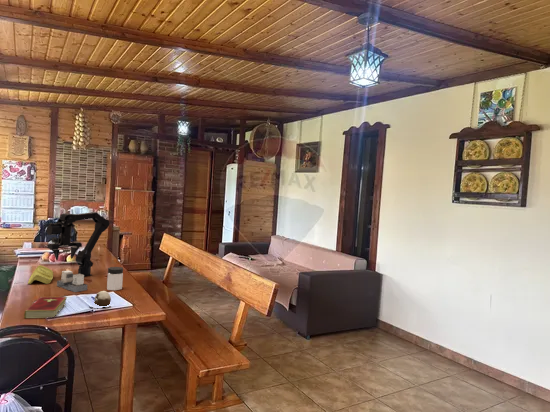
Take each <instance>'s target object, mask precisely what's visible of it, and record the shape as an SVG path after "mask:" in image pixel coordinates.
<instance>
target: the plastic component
mask: <svg viewBox="0 0 550 412" xmlns="http://www.w3.org/2000/svg"><path fill="white" fill-rule="evenodd" d="M30 275H31V276H30V277H29V279H28V282H27V284H28V285H31V284H32V283H33V282H34V281H38V282H40V283H43V284H45V285H49V284H51V282H52V280H53V277H54V271H53V270H52V269H50V268H49V267H46V266H44V265H41V264H40V265H37V267H36V268H35V269H34V270H33V272H32V273H31V274H30Z"/></svg>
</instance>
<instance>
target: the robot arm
mask: <svg viewBox="0 0 550 412" xmlns="http://www.w3.org/2000/svg"><path fill="white" fill-rule="evenodd" d="M83 220H93V222H94V223H95V224H94V230H93V232H92V234H91V236H90V237H89V239H88V241H87V243H86V244H85V245H84V246H85V247H84V248H83V245H82V244H83V243H82V242H81V241H72V240H71V239H72V238H73V236H72V228H74V227H75V228H76V225H75V224H74V223H75V222H77V221H83ZM109 227H110V220H109V219H106V218H105V217H104V216H102V215H101V214H100V213H98V212H96V211H90V212H84V213H64V212H63V213H61V215H60V216H59V218H58V219H57V220H56V221H55V223H52V222H51V223H48V226H47V228H46V233H47V235H49V236H53V237H51V243H48V244H47V249H49V250H51V251H52V253H53V255H54V257H55V258H54V259H55V260H56V261H58V260H59V256H60V248H68V247H69V248H70V259H73V258H74V257H75V259H74V260H75V262H76V264H77V266H78V269H77V274H82V275H84V277H89V276H93V274H91V272H92V271H91V269H92V267H93V265H94V262H93V261H92V260H91V258H92V252H93V250H94V249H95V247H96V245H97V244H98V243H97V242H98V240H99V239H100V237H101V235H102V234H103V232H105V231H106V230H108V228H109ZM56 235H59V236H58V237H55V236H56ZM80 248H83V249H82V250H79V249H80ZM76 253H77V254H76Z"/></svg>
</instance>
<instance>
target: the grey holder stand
mask: <svg viewBox="0 0 550 412" xmlns="http://www.w3.org/2000/svg"><path fill="white" fill-rule="evenodd" d="M84 281H85V276H84V275H82V274H78V273H76V274H73V276H72V281H71V282H65V283H64V282H61V279H60V280H56V287H59V288H61V289H65V290H67V291H70V292H73V293H78V292H83V291H88V284H86V283H84Z"/></svg>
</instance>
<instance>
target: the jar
mask: <svg viewBox="0 0 550 412" xmlns="http://www.w3.org/2000/svg"><path fill="white" fill-rule="evenodd" d="M123 279H124V267H121V266H110V267H108V268H107V279H106V281H107V282H106V289H107V290H108V291H119V290H122V289H123Z"/></svg>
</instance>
